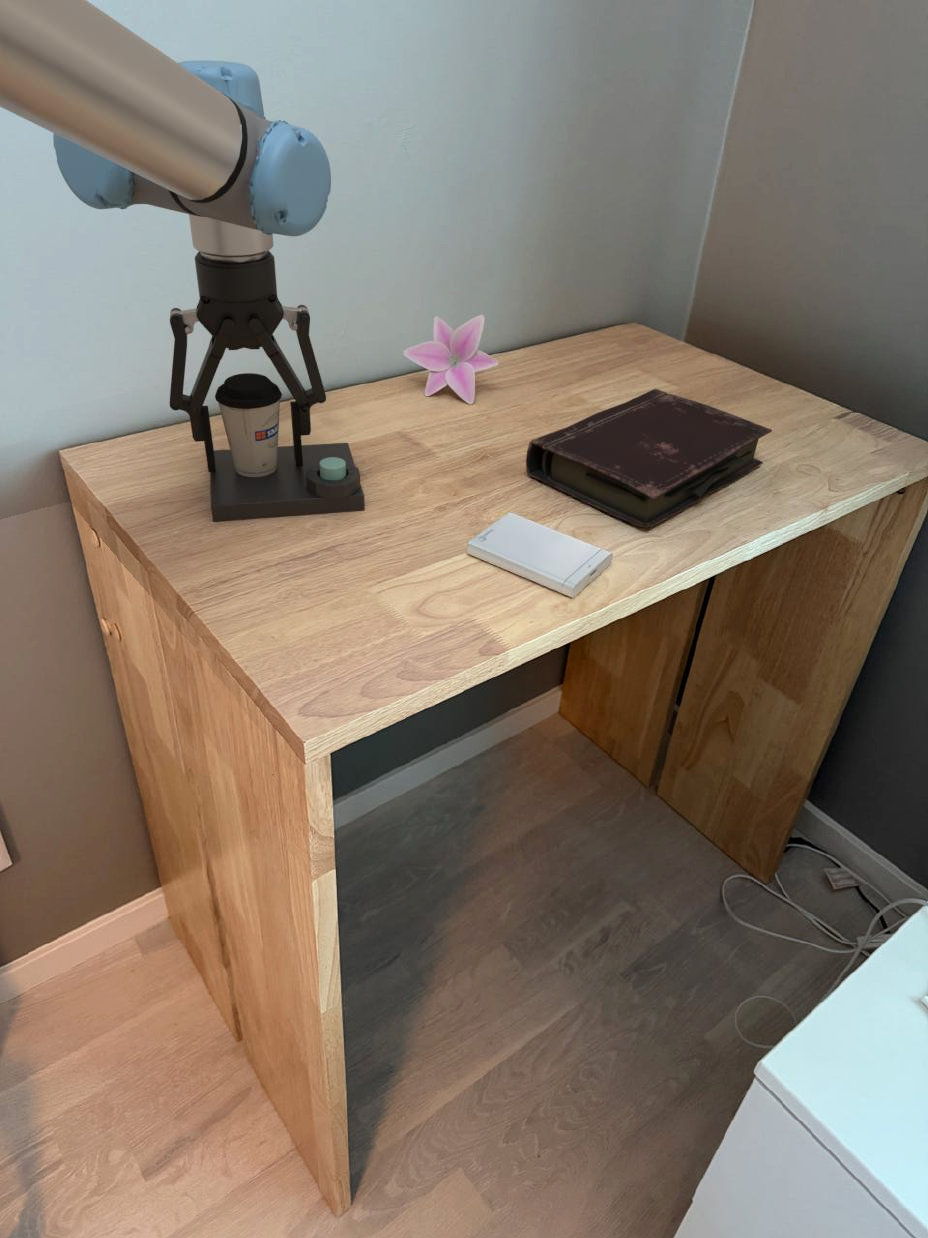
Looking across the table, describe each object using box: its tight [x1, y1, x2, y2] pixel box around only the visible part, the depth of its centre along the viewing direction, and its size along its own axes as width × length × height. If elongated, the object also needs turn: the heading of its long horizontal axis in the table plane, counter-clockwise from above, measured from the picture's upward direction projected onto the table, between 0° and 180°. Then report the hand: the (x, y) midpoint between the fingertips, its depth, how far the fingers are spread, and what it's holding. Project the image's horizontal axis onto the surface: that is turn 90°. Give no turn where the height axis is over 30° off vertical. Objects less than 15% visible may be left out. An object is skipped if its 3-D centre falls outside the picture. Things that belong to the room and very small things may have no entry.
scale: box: [209, 442, 365, 522], centre depth 98 cm, size 16×13×4 cm
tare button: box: [319, 457, 346, 480], centre depth 95 cm, size 3×3×2 cm
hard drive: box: [466, 512, 614, 598], centre depth 89 cm, size 2×8×12 cm
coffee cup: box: [214, 372, 283, 477], centre depth 95 cm, size 7×7×10 cm
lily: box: [402, 314, 500, 405], centre depth 122 cm, size 12×12×10 cm
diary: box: [525, 388, 773, 528], centre depth 105 cm, size 19×25×5 cm
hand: (255, 463), depth 98 cm, fingers open, 9 cm apart
